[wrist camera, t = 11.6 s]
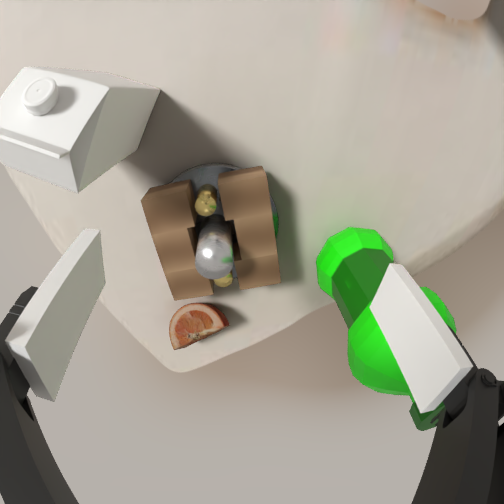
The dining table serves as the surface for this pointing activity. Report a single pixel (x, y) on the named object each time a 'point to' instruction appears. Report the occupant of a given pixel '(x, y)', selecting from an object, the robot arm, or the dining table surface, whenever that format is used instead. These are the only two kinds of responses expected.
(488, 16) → the dining table surface
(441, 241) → the dining table surface
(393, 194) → the dining table surface
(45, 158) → the milk carton
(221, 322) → the fruit slice
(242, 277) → the flange block
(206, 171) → the post base
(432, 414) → the plastic bottle
